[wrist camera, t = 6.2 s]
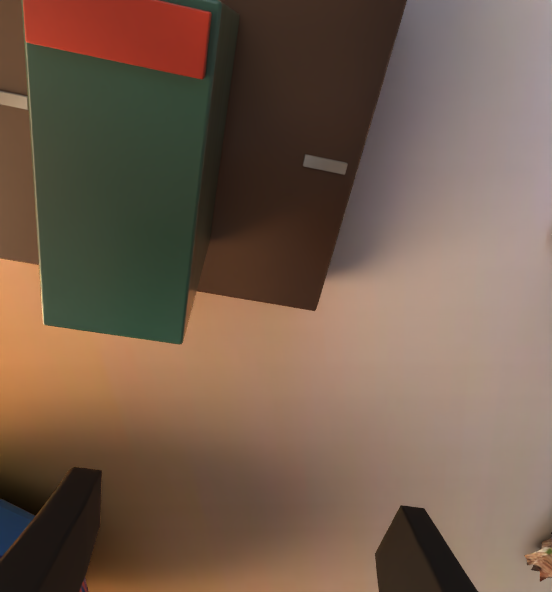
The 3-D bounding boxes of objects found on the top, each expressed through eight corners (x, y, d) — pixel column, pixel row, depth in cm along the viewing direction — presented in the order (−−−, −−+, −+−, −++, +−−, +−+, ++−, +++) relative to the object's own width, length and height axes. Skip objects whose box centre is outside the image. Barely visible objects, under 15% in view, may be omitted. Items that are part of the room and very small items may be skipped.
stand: (395, -27, 14) (420, -38, 12) (309, 283, 20) (315, 316, 17) (-9, -133, 13) (-69, -169, 11) (19, 232, 18) (-17, 261, 16)
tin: (209, 244, 16) (181, 352, 11) (115, 228, 16) (37, 331, 10) (240, 13, 13) (221, -1, 7) (121, -14, 12) (8, -51, 7)
